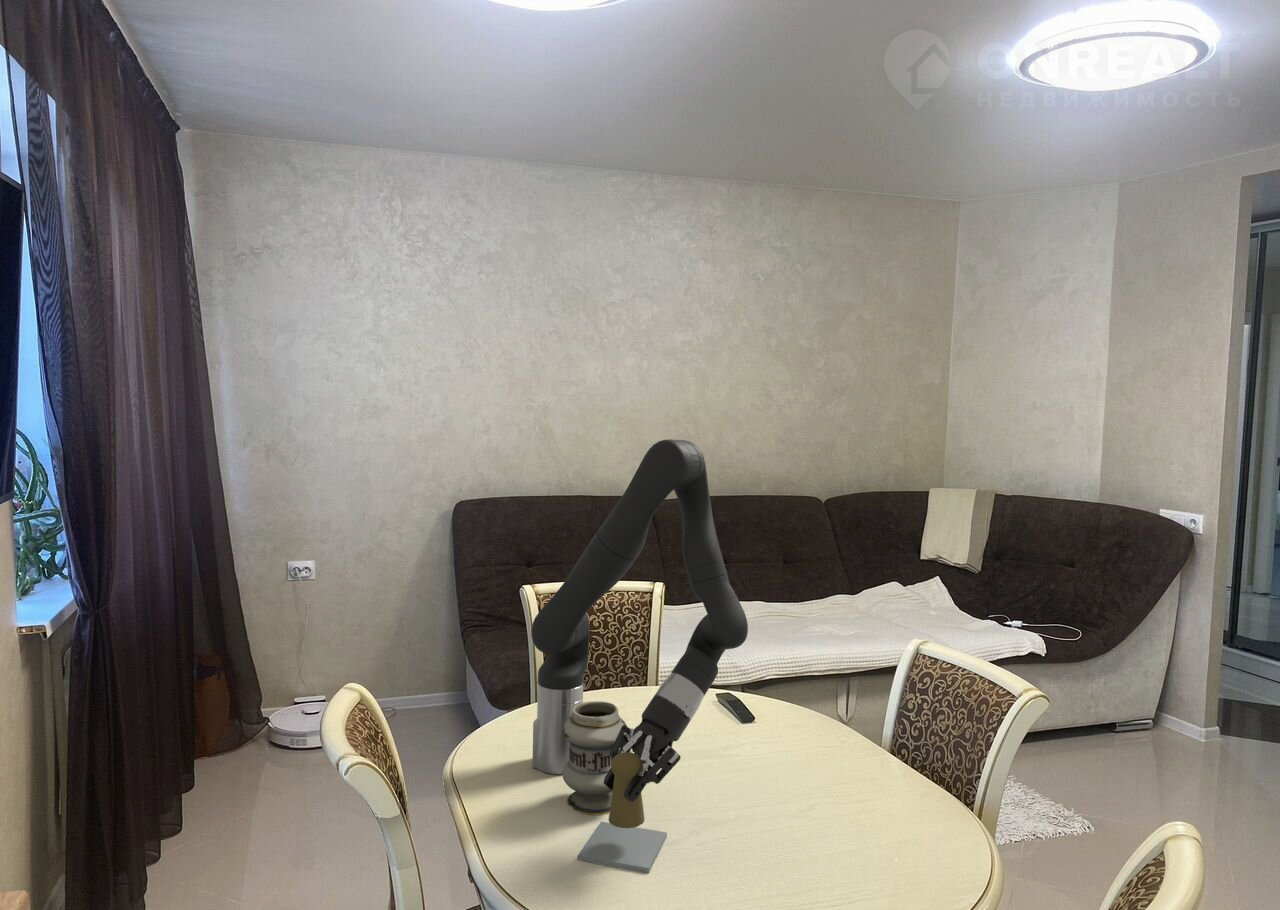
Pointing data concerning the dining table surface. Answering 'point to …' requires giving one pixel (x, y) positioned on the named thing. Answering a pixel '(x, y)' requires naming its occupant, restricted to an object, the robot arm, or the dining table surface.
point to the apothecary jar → (590, 755)
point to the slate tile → (623, 847)
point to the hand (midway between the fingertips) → (617, 792)
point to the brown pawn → (621, 807)
